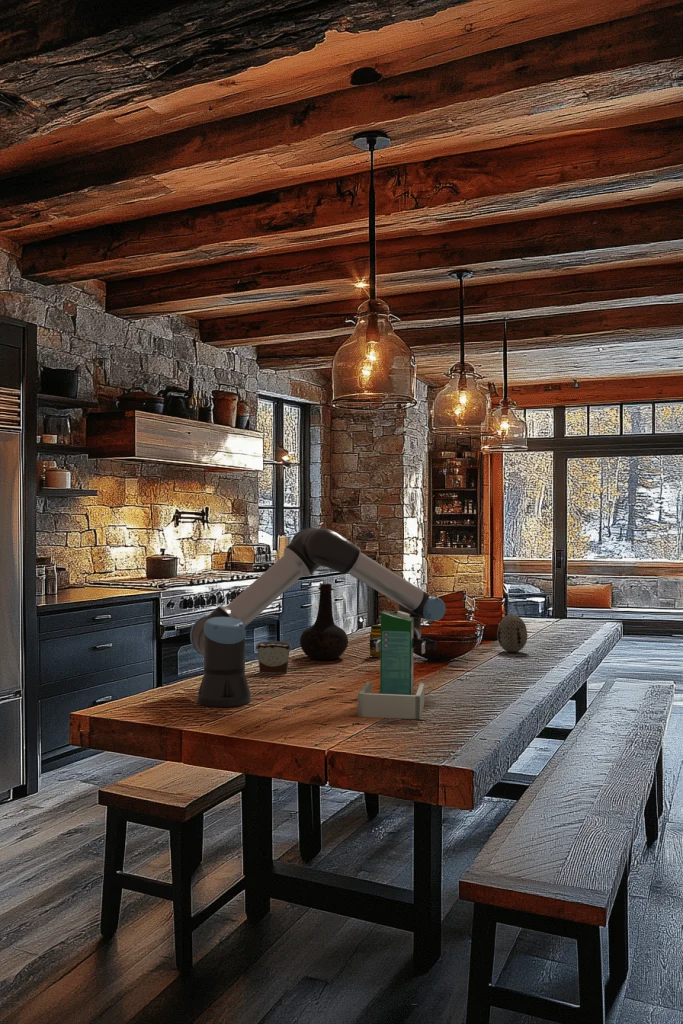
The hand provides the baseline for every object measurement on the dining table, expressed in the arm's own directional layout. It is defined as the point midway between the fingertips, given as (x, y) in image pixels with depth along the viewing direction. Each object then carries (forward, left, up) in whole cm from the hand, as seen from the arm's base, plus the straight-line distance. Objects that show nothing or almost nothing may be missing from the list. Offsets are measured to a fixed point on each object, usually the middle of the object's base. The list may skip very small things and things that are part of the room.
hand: (399, 648), depth 245 cm
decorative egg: (+96, -5, -14) cm, 98 cm away
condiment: (+60, +36, -14) cm, 72 cm away
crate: (-17, -6, -14) cm, 23 cm away
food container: (+14, +53, -14) cm, 57 cm away
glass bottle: (+46, +52, -14) cm, 72 cm away
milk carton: (+1, +1, -14) cm, 15 cm away
